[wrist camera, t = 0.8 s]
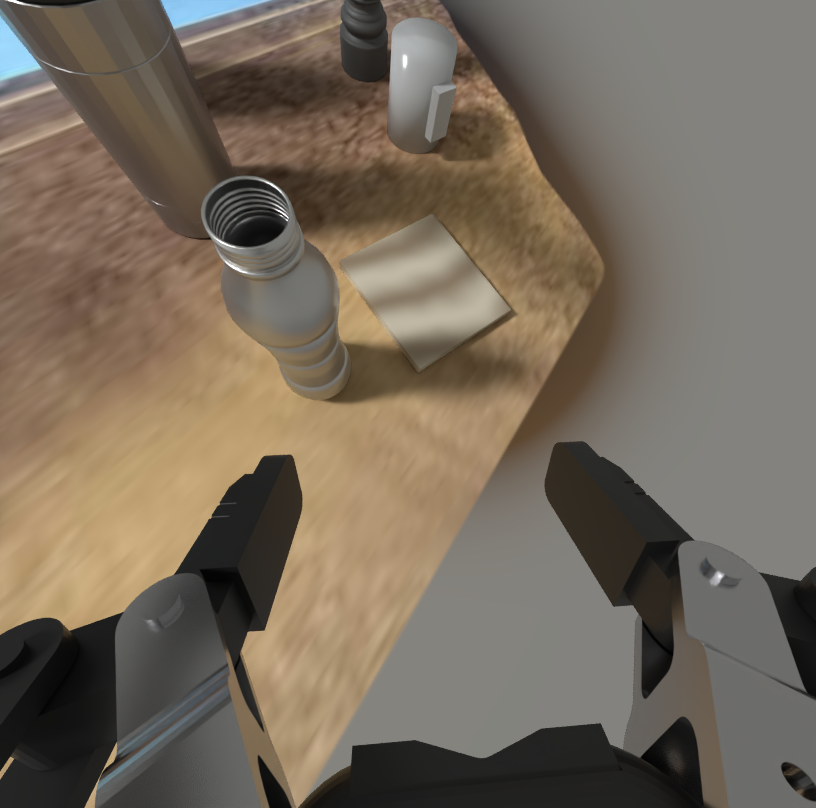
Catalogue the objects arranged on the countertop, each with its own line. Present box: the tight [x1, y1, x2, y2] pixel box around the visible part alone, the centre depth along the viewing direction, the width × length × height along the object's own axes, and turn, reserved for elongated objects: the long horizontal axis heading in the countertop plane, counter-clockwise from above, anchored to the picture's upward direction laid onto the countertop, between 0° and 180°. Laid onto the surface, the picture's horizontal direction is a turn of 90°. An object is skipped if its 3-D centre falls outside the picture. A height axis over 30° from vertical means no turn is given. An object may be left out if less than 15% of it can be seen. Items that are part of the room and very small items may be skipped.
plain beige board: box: [339, 213, 511, 373], centre depth 35 cm, size 15×13×1 cm
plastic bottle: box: [201, 176, 351, 400], centre depth 22 cm, size 6×7×20 cm
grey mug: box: [387, 18, 458, 154], centre depth 37 cm, size 8×7×9 cm
